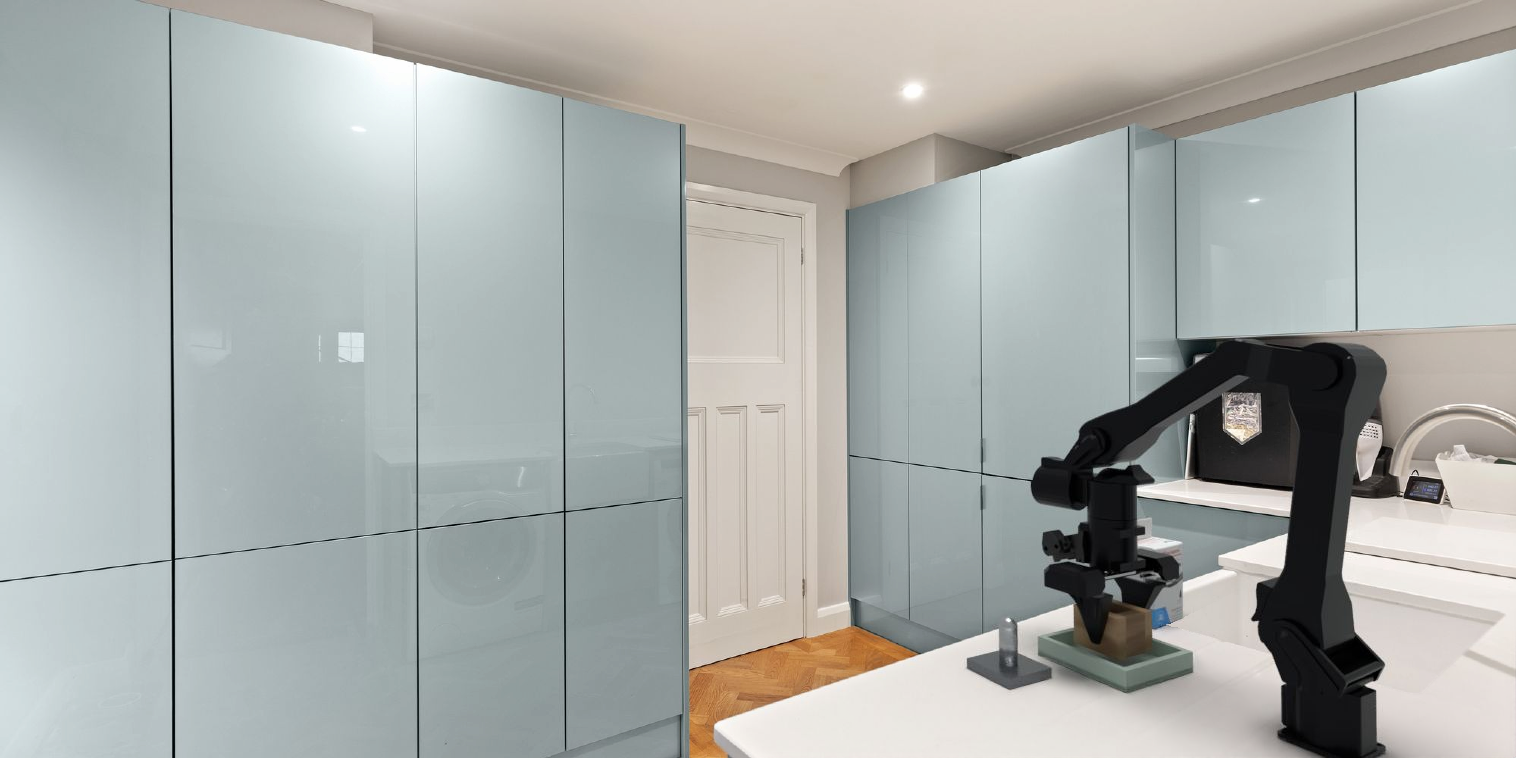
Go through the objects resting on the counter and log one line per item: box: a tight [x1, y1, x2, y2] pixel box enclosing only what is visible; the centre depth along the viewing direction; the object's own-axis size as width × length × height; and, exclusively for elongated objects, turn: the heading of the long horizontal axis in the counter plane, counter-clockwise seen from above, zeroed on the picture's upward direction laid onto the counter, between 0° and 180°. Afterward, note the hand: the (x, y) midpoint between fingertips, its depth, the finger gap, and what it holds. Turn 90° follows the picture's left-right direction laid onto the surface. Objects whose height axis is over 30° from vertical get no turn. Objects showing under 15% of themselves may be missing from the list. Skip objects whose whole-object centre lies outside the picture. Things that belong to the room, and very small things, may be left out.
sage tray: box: [1037, 626, 1194, 693], centre depth 89 cm, size 13×13×2 cm
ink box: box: [1137, 516, 1184, 630], centre depth 105 cm, size 8×5×15 cm, turn 123°
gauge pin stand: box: [966, 615, 1053, 690], centre depth 86 cm, size 7×7×7 cm
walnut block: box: [1072, 598, 1153, 660], centre depth 89 cm, size 6×6×5 cm
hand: (1113, 638), depth 89 cm, fingers closed on walnut block, 6 cm apart
